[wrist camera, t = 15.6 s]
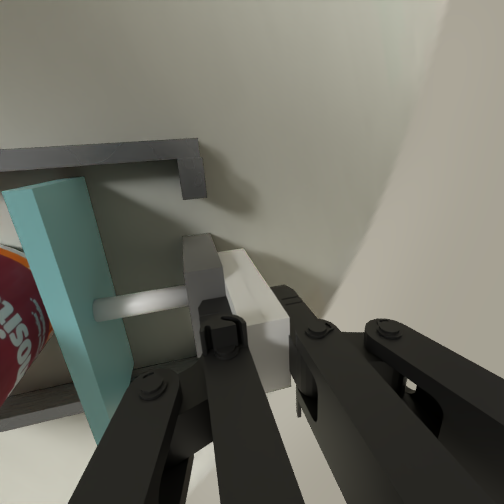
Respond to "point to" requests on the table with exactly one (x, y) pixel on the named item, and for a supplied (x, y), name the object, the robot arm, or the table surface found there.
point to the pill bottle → (19, 319)
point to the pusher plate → (97, 289)
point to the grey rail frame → (184, 150)
